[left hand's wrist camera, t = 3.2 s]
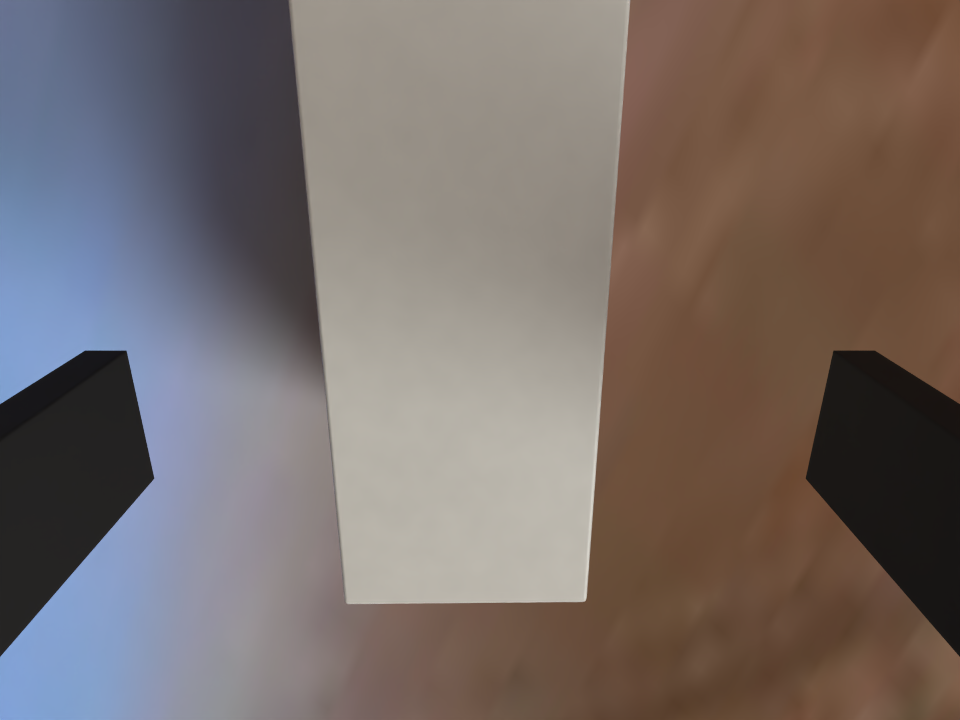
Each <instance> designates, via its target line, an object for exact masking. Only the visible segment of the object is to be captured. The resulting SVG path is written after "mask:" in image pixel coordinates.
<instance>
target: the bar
mask: <svg viewBox="0 0 960 720" xmlns="http://www.w3.org/2000/svg"><path fill="white" fill-rule="evenodd" d="M629 9H630V0H289V11H290V22H291V32H292V43H293V54H294V64H295V75H296V86H297V97H298V107H299V118H300V129H301V139H302V150H303V161H304V171H305V182H306V193H307V203H308V214H309V225H310V236H311V246H312V257H313V268H314V278H315V289H316V300H317V310H318V321H319V332H320V343H321V353H322V364H323V375H324V385H325V396H326V407H327V417H328V428H329V439H330V449H331V460H332V471H333V482H334V492H335V503H336V514H337V524H338V535H339V546H340V556H341V567H342V578H343V589H344V599H345V602H346V603H347V604H392V603H501V602H584V601H585V600H586V597H587V583H588V570H589V556H590V542H591V529H592V515H593V501H594V488H595V474H596V460H597V447H598V433H599V419H600V406H601V392H602V378H603V365H604V351H605V337H606V324H607V310H608V296H609V283H610V269H611V255H612V242H613V228H614V214H615V201H616V187H617V173H618V160H619V146H620V132H621V119H622V105H623V91H624V78H625V64H626V50H627V37H628V23H629Z"/></svg>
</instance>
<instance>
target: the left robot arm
mask: <svg viewBox="0 0 960 720" xmlns="http://www.w3.org/2000/svg"><path fill="white" fill-rule="evenodd" d="M153 479H154V475H153V471H152V466H151V461H150V457H149V452H148V448H147V443H146V438H145V434H144V429H143V425H142V420H141V415H140V411H139V406H138V402H137V397H136V392H135V388H134V383H133V379H132V374H131V369H130V365H129V360H128V356H127V351H84V352H82V353H81V354H79V355H78V356H76V357H74V358H73V359H71V360H70V361H68V362H66V363H65V364H63V365H62V366H60V367H59V368H57V369H55V370H54V371H52V372H51V373H49V374H47V375H46V376H44V377H43V378H41V379H40V380H38V381H36V382H35V383H33V384H32V385H30V386H28V387H27V388H25V389H24V390H22V391H20V392H19V393H17V394H16V395H14V396H13V397H11V398H9V399H8V400H6V401H5V402H3V403H1V404H0V656H1V655H2V654H3V653H4V652H5V650H6V649H7V648H8V647H9V646H10V645H11V644H12V642H13V641H14V640H15V639H16V638H17V637H18V635H19V634H20V633H21V632H22V631H23V630H24V629H25V627H26V626H27V625H28V624H29V623H30V622H31V620H32V619H33V618H34V617H35V616H36V615H37V614H38V612H39V611H40V610H41V609H42V608H43V607H44V605H45V604H46V603H47V602H48V601H49V600H50V598H51V597H52V596H53V595H54V594H55V593H56V592H57V590H58V589H59V588H60V587H61V586H62V585H63V583H64V582H65V581H66V580H67V579H68V578H69V577H70V575H71V574H72V573H73V572H74V571H75V570H76V568H77V567H78V566H79V565H80V564H81V563H82V561H83V560H84V559H85V558H86V557H87V556H88V555H89V553H90V552H91V551H92V550H93V549H94V548H95V546H96V545H97V544H98V543H99V542H100V541H101V540H102V538H103V537H104V536H105V535H106V534H107V533H108V531H109V530H110V529H111V528H112V527H113V526H114V524H115V523H116V522H117V521H118V520H119V519H120V518H121V516H122V515H123V514H124V513H125V512H126V511H127V509H128V508H129V507H130V506H131V505H132V504H133V503H134V501H135V500H136V499H137V498H138V497H139V496H140V494H141V493H142V492H143V491H144V490H145V489H146V487H147V486H148V485H149V484H150V483H151V482H152V481H153ZM806 479H807V481H808V482H809V483H810V484H811V485H812V486H813V487H814V489H815V490H816V491H817V492H818V493H819V494H820V496H821V497H822V498H823V499H824V500H825V501H826V503H827V504H828V505H829V506H830V507H831V508H832V509H833V511H834V512H835V513H836V514H837V515H838V516H839V518H840V519H841V520H842V521H843V522H844V523H845V524H846V526H847V527H848V528H849V529H850V530H851V531H852V533H853V534H854V535H855V536H856V537H857V538H858V540H859V541H860V542H861V543H862V544H863V545H864V546H865V548H866V549H867V550H868V551H869V552H870V553H871V555H872V556H873V557H874V558H875V559H876V560H877V561H878V563H879V564H880V565H881V566H882V567H883V568H884V570H885V571H886V572H887V573H888V574H889V575H890V577H891V578H892V579H893V580H894V581H895V582H896V583H897V585H898V586H899V587H900V588H901V589H902V590H903V592H904V593H905V594H906V595H907V596H908V597H909V598H910V600H911V601H912V602H913V603H914V604H915V605H916V607H917V608H918V609H919V610H920V611H921V612H922V614H923V615H924V616H925V617H926V618H927V619H928V620H929V622H930V623H931V624H932V625H933V626H934V627H935V629H936V630H937V631H938V632H939V633H940V634H941V635H942V637H943V638H944V639H945V640H946V641H947V642H948V644H949V645H950V646H951V647H952V648H953V649H954V650H955V652H956V653H957V654H958V655H959V656H960V404H959V403H957V402H955V401H954V400H952V399H951V398H949V397H947V396H946V395H944V394H943V393H941V392H940V391H938V390H936V389H935V388H933V387H932V386H930V385H928V384H927V383H925V382H924V381H922V380H920V379H919V378H917V377H916V376H914V375H913V374H911V373H909V372H908V371H906V370H905V369H903V368H901V367H900V366H898V365H897V364H895V363H894V362H892V361H890V360H889V359H887V358H886V357H884V356H882V355H881V354H879V353H878V352H876V351H833V356H832V360H831V365H830V369H829V374H828V379H827V383H826V388H825V392H824V397H823V402H822V406H821V411H820V415H819V420H818V425H817V429H816V434H815V438H814V443H813V448H812V452H811V457H810V461H809V466H808V471H807V475H806Z"/></svg>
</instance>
